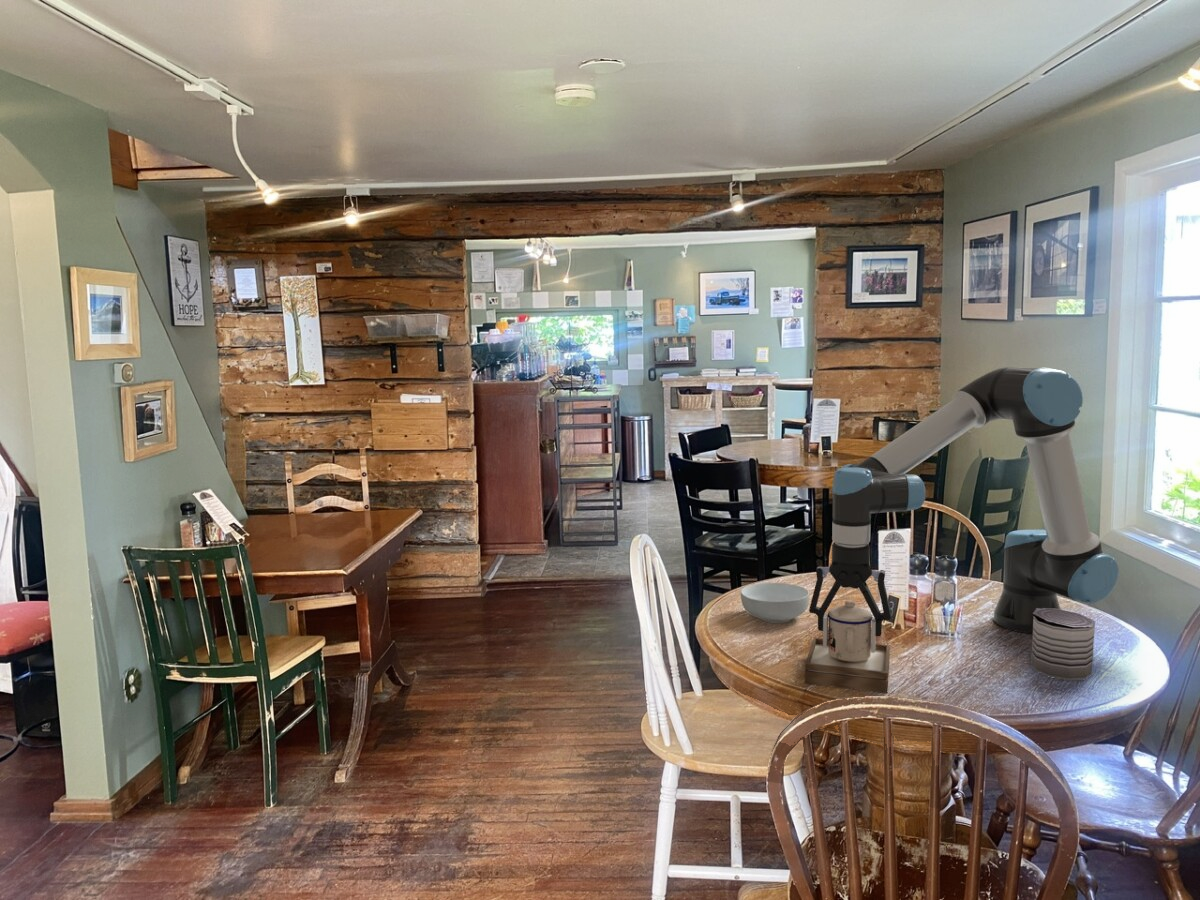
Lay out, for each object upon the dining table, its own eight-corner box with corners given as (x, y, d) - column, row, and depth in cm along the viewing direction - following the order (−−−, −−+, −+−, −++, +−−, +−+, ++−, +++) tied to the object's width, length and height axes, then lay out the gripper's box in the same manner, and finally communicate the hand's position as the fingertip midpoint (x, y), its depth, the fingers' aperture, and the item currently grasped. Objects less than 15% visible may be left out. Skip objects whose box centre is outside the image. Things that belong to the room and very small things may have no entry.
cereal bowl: (785, 604, 226) (785, 578, 226) (822, 623, 211) (823, 596, 210) (728, 612, 221) (728, 586, 220) (762, 633, 205) (762, 604, 204)
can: (1032, 656, 188) (1035, 603, 186) (1092, 665, 182) (1096, 611, 180) (1028, 674, 178) (1031, 618, 176) (1091, 684, 172) (1095, 627, 170)
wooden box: (889, 663, 185) (889, 645, 184) (887, 693, 170) (887, 672, 169) (813, 655, 190) (813, 637, 190) (804, 683, 175) (805, 663, 175)
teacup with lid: (827, 645, 187) (827, 593, 185) (871, 648, 184) (872, 596, 183) (826, 666, 175) (827, 611, 174) (873, 669, 173) (874, 614, 171)
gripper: (907, 542, 176) (904, 647, 179) (799, 535, 184) (798, 636, 187) (906, 550, 169) (903, 660, 172) (795, 544, 177) (794, 648, 180)
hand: (849, 647), depth 179 cm, fingers closed on teacup with lid, 9 cm apart
